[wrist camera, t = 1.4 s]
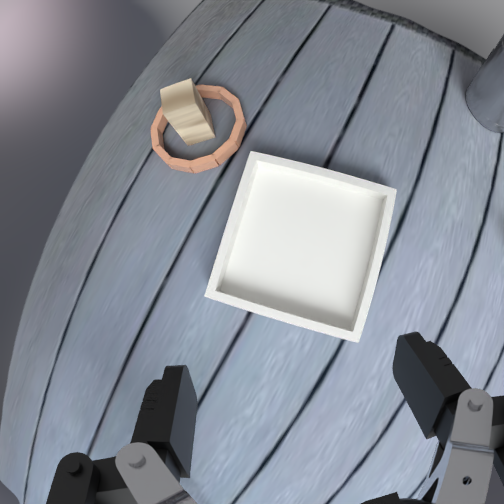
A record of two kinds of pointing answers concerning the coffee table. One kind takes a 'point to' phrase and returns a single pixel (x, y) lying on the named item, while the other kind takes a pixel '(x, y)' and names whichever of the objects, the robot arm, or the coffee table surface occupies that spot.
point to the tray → (303, 245)
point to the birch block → (187, 112)
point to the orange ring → (221, 152)
